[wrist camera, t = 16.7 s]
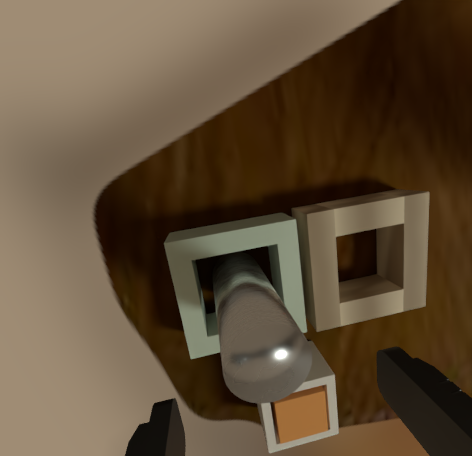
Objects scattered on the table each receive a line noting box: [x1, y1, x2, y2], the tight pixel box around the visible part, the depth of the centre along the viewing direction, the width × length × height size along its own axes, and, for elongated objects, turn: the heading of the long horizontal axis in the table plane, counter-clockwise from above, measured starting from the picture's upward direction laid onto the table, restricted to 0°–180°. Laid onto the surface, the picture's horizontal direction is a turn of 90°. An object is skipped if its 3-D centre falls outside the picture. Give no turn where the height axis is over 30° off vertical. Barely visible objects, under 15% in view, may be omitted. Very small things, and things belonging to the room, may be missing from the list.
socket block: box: [291, 189, 429, 332], centre depth 20 cm, size 9×9×3 cm
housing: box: [257, 341, 339, 453], centre depth 21 cm, size 6×6×4 cm
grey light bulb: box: [212, 251, 312, 403], centre depth 15 cm, size 4×4×10 cm
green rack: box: [164, 213, 307, 359], centre depth 19 cm, size 9×9×3 cm
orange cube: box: [270, 385, 328, 444], centre depth 21 cm, size 4×4×4 cm
